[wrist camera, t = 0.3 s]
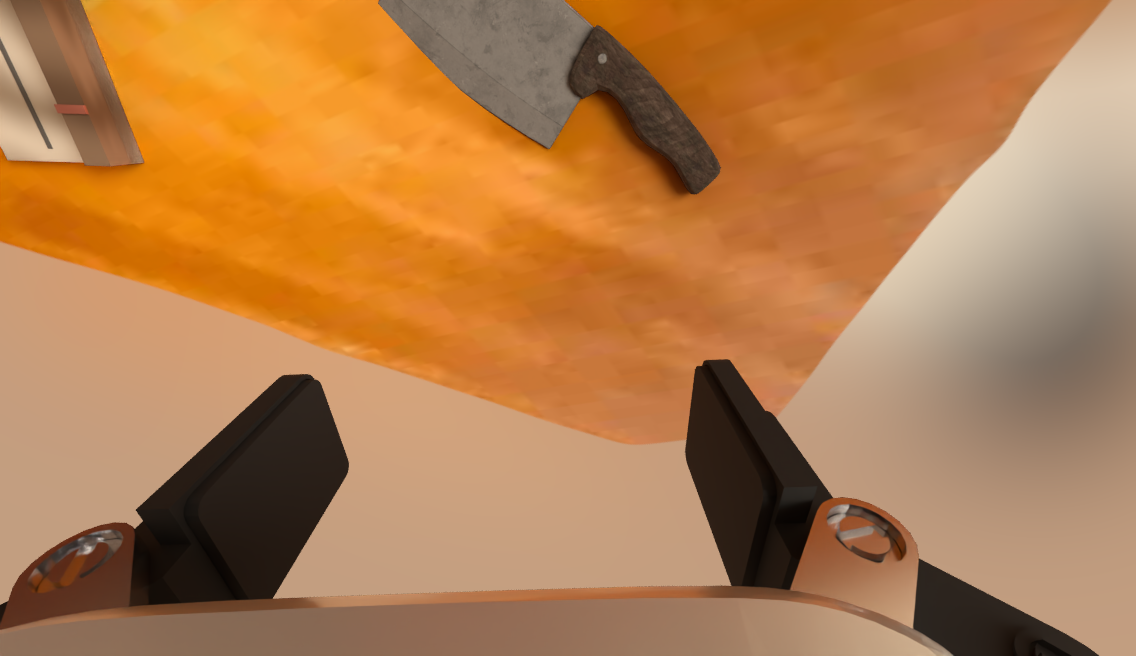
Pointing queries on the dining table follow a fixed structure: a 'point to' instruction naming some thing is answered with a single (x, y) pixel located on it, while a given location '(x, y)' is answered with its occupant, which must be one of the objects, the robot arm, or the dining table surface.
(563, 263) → the dining table surface
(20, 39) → the fence board
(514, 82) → the cleaver
